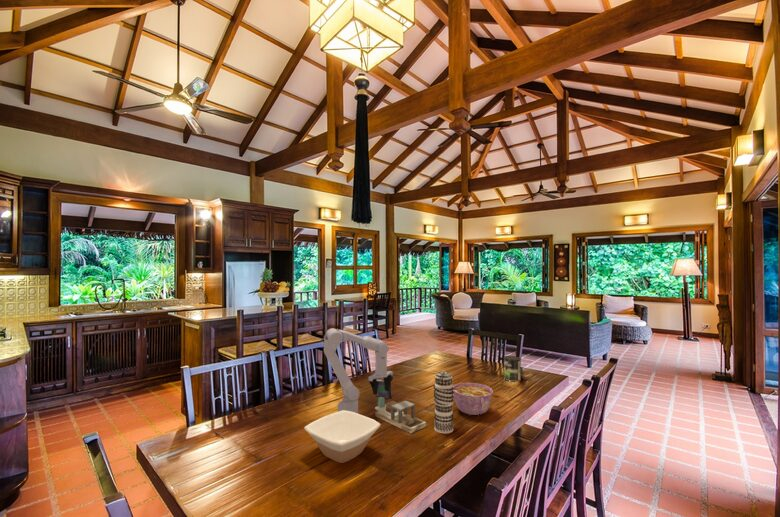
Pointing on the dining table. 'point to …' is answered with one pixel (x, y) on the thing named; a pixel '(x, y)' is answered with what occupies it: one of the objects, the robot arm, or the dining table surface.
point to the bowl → (342, 434)
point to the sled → (384, 407)
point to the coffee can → (512, 368)
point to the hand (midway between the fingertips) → (380, 392)
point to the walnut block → (388, 406)
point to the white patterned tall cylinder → (443, 402)
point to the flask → (383, 390)
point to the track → (403, 417)
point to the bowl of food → (472, 398)
